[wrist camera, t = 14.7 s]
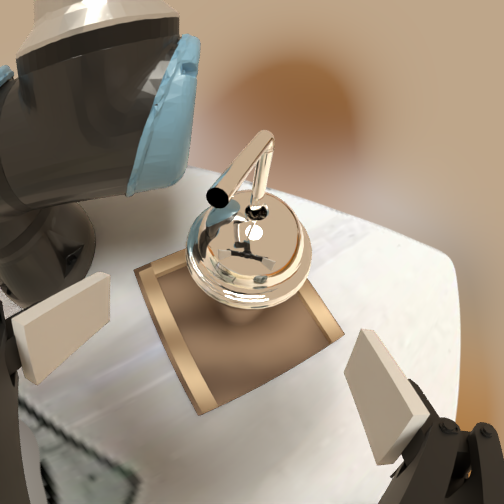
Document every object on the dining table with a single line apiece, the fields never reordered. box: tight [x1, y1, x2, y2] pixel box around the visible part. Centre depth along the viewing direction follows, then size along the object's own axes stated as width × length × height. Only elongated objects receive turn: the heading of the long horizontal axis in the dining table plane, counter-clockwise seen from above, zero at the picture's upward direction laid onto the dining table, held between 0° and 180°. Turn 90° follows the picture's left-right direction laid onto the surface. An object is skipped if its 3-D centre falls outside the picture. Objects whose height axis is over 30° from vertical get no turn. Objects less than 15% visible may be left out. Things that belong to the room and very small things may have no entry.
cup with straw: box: [185, 130, 312, 326], centre depth 19 cm, size 8×9×20 cm
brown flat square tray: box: [134, 249, 345, 416], centre depth 27 cm, size 16×16×2 cm
